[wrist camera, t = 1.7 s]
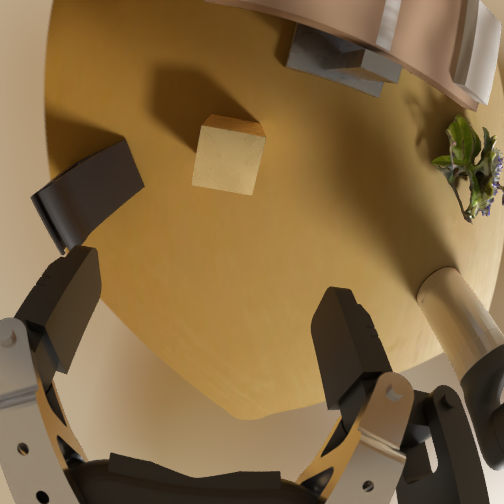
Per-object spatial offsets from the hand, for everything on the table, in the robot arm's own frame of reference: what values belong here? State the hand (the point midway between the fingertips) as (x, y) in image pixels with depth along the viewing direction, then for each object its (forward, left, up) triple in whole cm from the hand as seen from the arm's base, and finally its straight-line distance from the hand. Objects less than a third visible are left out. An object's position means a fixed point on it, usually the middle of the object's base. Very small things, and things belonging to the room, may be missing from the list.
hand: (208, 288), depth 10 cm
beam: (-8, -18, -15) cm, 25 cm away
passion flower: (-28, -6, -23) cm, 37 cm away
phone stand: (+14, +6, -23) cm, 28 cm away
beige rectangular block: (0, 0, -23) cm, 23 cm away
